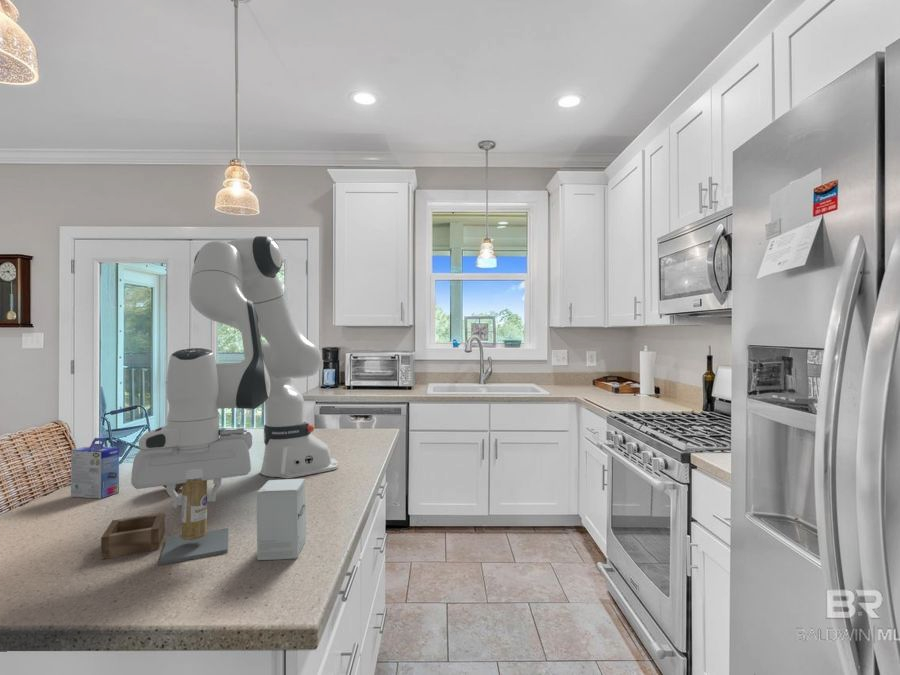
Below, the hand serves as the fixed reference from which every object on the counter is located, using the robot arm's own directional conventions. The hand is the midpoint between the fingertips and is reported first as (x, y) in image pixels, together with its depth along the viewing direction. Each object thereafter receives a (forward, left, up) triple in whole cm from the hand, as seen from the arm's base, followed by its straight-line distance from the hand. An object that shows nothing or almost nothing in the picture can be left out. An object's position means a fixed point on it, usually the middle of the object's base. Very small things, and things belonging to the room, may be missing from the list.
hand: (195, 503), depth 91 cm
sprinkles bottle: (0, 0, -6) cm, 6 cm away
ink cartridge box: (+26, -46, -9) cm, 54 cm away
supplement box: (-15, +10, -9) cm, 20 cm away
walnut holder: (+11, -6, -8) cm, 15 cm away
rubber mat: (0, 0, -8) cm, 8 cm away
